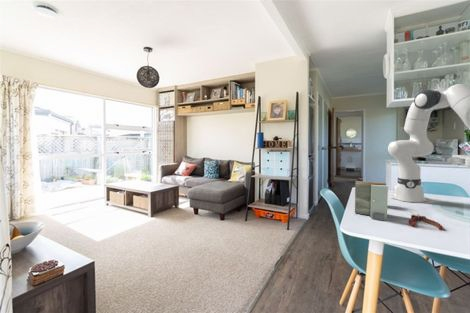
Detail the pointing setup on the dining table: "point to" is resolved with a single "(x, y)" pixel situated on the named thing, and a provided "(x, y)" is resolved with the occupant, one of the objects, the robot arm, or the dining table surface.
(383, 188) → the door panel
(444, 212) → the dining table surface
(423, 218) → the pliers
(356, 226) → the dining table surface
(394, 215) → the dining table surface
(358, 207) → the cabinet
